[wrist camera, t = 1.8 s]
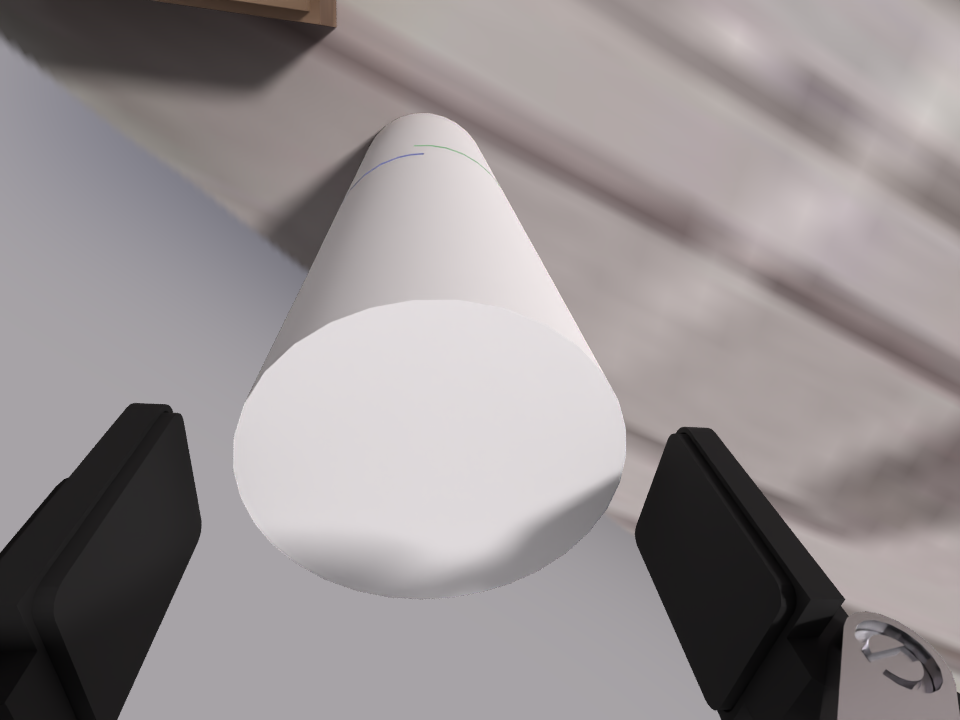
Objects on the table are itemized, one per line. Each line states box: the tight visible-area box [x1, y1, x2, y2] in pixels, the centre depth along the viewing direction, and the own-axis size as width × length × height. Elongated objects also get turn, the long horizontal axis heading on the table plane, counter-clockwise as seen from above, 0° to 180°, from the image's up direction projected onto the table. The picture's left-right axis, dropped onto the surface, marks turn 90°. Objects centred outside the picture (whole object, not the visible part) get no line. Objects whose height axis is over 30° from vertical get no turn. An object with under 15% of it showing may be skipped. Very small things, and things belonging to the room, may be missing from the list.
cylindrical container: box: [233, 113, 626, 599], centre depth 21 cm, size 7×7×25 cm
